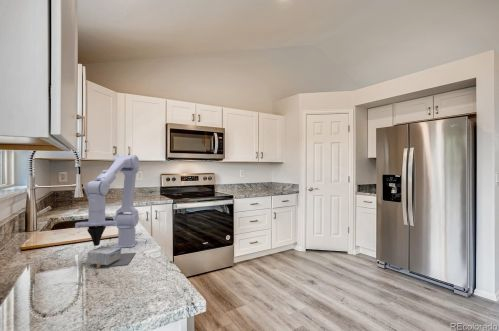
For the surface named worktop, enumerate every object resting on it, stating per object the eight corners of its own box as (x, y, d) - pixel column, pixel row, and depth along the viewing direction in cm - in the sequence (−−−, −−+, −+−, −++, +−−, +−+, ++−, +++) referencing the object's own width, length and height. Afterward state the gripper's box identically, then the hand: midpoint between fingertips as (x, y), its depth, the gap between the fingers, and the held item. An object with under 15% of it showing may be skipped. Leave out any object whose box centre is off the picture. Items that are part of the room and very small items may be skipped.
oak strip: (108, 256, 106) (108, 253, 106) (111, 256, 107) (111, 253, 107) (96, 268, 93) (96, 265, 93) (99, 268, 93) (99, 265, 93)
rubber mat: (113, 255, 108) (113, 254, 108) (135, 253, 110) (135, 252, 110) (102, 267, 94) (102, 266, 94) (127, 265, 96) (127, 264, 96)
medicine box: (86, 263, 94) (107, 265, 93) (87, 251, 94) (108, 253, 93) (100, 256, 102) (120, 259, 101) (102, 245, 102) (121, 248, 101)
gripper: (71, 213, 94) (71, 249, 94) (113, 211, 97) (113, 246, 97) (79, 210, 101) (79, 244, 101) (118, 209, 104) (118, 241, 104)
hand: (96, 245), depth 99 cm, fingers closed
